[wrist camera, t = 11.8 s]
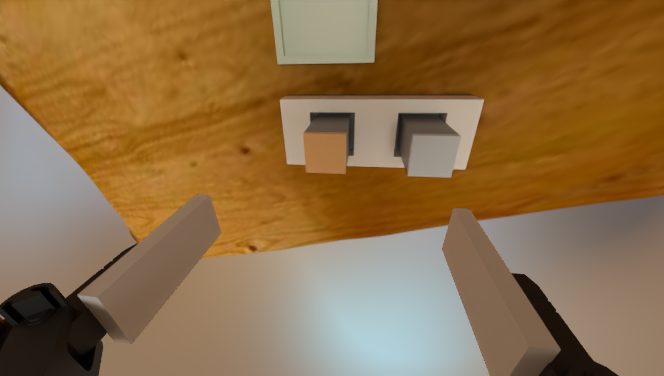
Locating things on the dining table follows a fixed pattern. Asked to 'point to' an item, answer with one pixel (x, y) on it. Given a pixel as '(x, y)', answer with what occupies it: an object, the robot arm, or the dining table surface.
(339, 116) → the plug
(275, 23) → the tray
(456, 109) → the strip
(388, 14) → the dining table surface
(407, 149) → the grey square peg
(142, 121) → the dining table surface
